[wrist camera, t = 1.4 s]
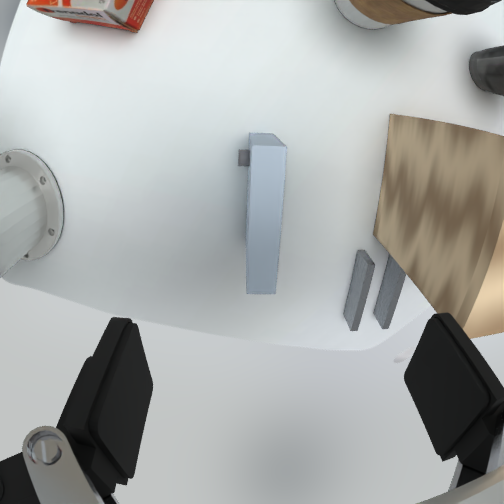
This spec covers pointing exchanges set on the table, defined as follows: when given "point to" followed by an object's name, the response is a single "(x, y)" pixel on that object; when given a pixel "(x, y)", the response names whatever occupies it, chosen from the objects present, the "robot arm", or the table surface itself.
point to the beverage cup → (488, 69)
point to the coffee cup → (405, 10)
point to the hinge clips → (361, 288)
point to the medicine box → (96, 11)
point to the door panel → (263, 210)
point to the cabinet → (447, 217)
